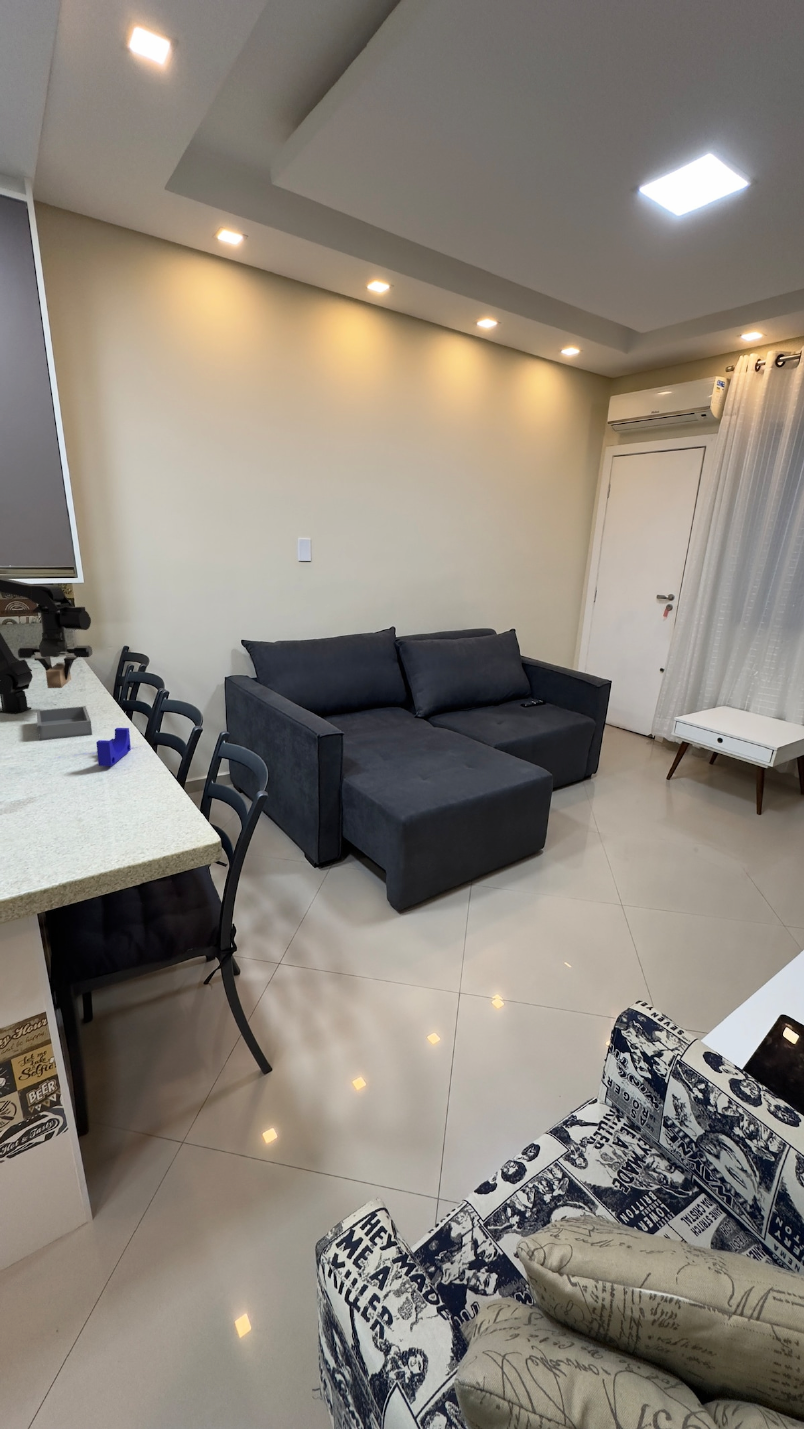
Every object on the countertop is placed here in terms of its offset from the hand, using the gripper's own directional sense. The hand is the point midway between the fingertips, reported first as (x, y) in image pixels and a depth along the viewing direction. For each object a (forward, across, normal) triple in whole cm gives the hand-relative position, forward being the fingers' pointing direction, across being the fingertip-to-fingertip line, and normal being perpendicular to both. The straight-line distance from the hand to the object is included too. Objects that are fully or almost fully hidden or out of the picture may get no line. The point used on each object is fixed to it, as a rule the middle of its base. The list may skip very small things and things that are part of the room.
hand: (59, 679), depth 178 cm
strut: (+1, 0, 0) cm, 1 cm away
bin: (+11, +4, -17) cm, 20 cm away
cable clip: (+11, +20, -43) cm, 49 cm away
